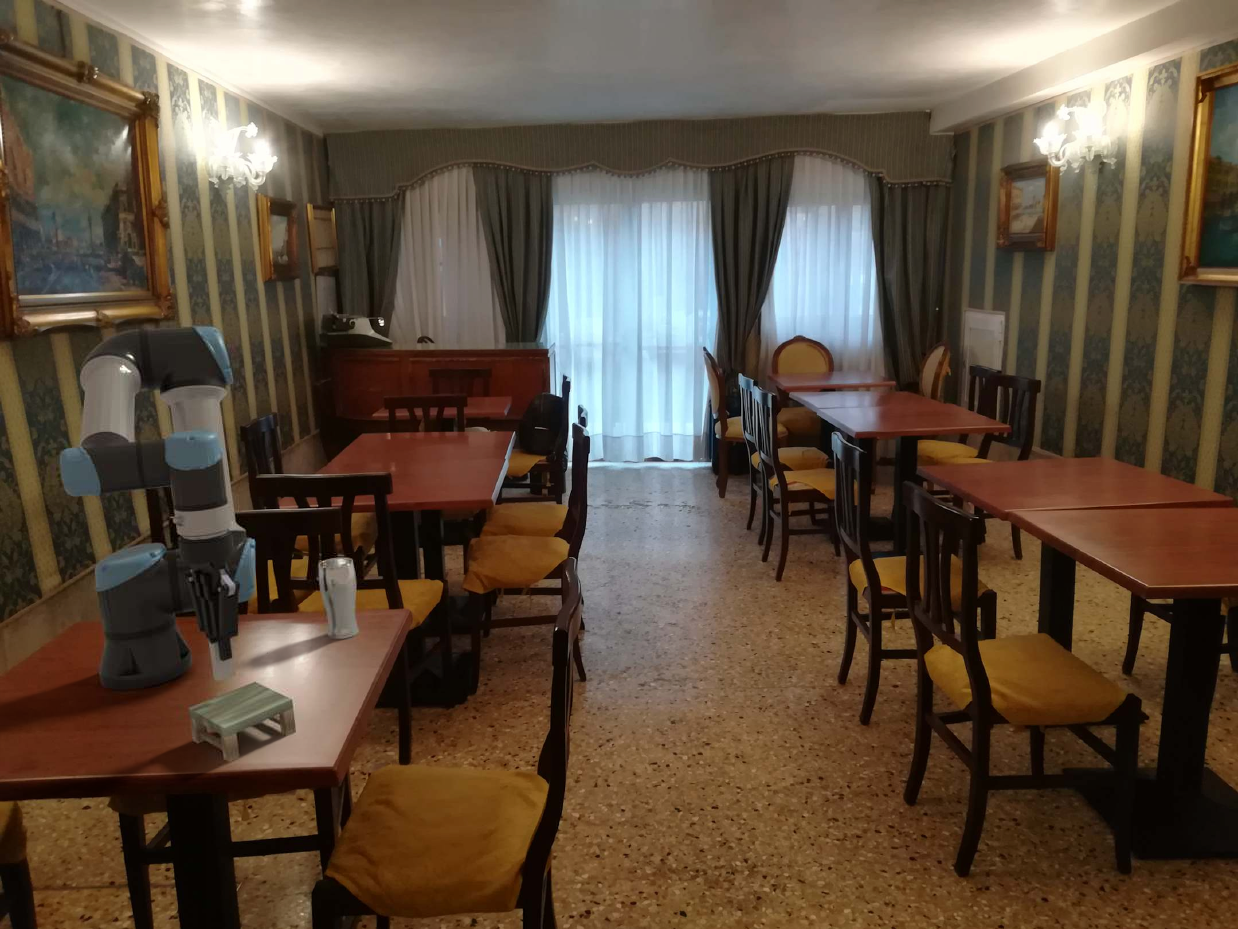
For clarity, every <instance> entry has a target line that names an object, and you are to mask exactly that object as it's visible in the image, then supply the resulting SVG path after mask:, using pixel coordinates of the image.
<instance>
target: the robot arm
mask: <svg viewBox="0 0 1238 929" xmlns="http://www.w3.org/2000/svg"><path fill="white" fill-rule="evenodd" d="M228 356H229V355H228V352H227V348H226V346H225V342H224V339H223V336H222V334H221V332H220V331H219V329H217V328H216V327H213V326H196V325H195V326H194V325H191V326H181V327H180V326H178V327H165V328H164V327H163V328H161V327H160V328H145V329H140V328H139V329H129V330H124V331H122V332H121V331H120V332H118V333H116V334H114V335H112V336H109V337H108V338H106V339H104V340H103V341H102V342H101V343H99V344H97V345H96V346H95V347H94V348H93V349H92V350H91V351H90V353H89V354H88V355H87V356H86V358H85V359H84V361H83V362H82V365H81V368H80V376H79V381H80V385H81V388H82V390H83V391H84V398H83V399H84V400H83V402H84V403H83V408H82V409H83V410H82V419H81V427H80V428H81V429H80V439H79V445H77V446H75V447H70V448H69V447H68V448H65V449H64V450H63V449H62V451H61V453H60V455H59V467H60V476H61V481H62V485H63V488H64V491H66V493H67V494H68V495H70V496H71V497H83V496H84V497H86V496H95V497H97V496H100V495H108V494H115V493H123V492H130V491H138V490H147V489H157V488H165V487H170V489H171V496H172V502H173V503H172V504H173V512H174V517H173V519H172V522H173V523H174V524H175V525H176V533H177V534H178V535H180V536H179V537H178V539H177V542H178V549H171V550H167V546H165V545H164V544H163V543H161V542H154V543H151V542H149V543H142V544H138V545H133V546H130V547H127V548H123V549H120V550H118V551H115V552H113V553H110V554H109V555H106V556H104V558H102V559H100V560H99V561H98V562H97V564H96V565H95V568H94V576H95V578H94V579H95V587H94V589H95V592H97V598H98V603H99V610H100V616H101V622H102V623H101V624H102V629H103V636H104V645H103V650H102V653H101V654H102V655H101V659H100V665H99V668H98V670H99V671H98V674H99V679H100V684H101V685H102V686H103V687H104V688H107V689H110V690H116V691H117V690H119V691H129V690H138V689H144V688H148V687H153V686H157V685H160V684H164V683H167V682H169V681H172V680H174V679H176V678H178V677H180V676H182V675H183V674H185V673H187V671H189V670H190V669H191V667H192V665H193V655H192V652H191V648H190V647H189V645H188V644H187V642H186V640H185V638H184V636H183V634H182V632H181V631H180V629H179V628H178V626H177V619H176V614H181V613H187V612H194V613H195V618H196V623H197V624H198V629H199V631H200V632H201V633H204V636H205V637H206V639H207V640H208V645H209V653H210V659H211V666H212V667H211V668H212V674H213V680H215V681H216V682H221V681H223V680H226V679H229V678H231V677H233V676H236V672H235V663H234V662H235V661H234V657H233V656H234V655H233V648H232V647H233V646H232V640H231V639H232V638H235V637H238V636H239V603H243V602H247V601H249V600H251V599H252V598H253V596H254V595H255V593H256V592H255V591H256V589H255V588H256V541H255V539H253V538H251V537H250V538H249V537H248V538H247V532H246V529H245V528H243V527H242V526H240V525H239V524H238V523H237V522H236V514H235V508H234V507H235V506H234V501H233V494H232V493H233V492H232V486H231V479H230V477H231V476H230V471H229V461H228V457H227V456H228V455H227V448H226V439H225V433H224V426H223V417H222V410H221V404H220V403H221V402H222V400H223V399H224V398H225V397H226V396H227V393H228V390H227V386H228V387H229V386H231V385H233V384H234V377H233V372H232V368H231V365H230V360H229V359H230V358H229V357H228ZM144 391H146V392H147V391H149V392H151V391H159V394H160V395H159V396H160V399H161V401H162V402H164V403H166V404H167V405H168V406H170V412H171V413H170V414H171V420H172V421H171V422H172V428H173V433H172V434H171V433H170V434H168V435H167V436H166V437H165V438H160V439H152V440H139V441H135V403H136V402H135V397H136V395H137V394H138V393H139V392H144Z"/></svg>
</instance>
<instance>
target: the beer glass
mask: <svg viewBox="0 0 1238 929" xmlns="http://www.w3.org/2000/svg"><path fill="white" fill-rule="evenodd" d="M318 582H319V590H320V595H321V600H322V602H323V605H324V608H325V612H326V616H327V638H329V639H331V640H345V639H349V638H352V637H355V636H356V635H358V634H359V632H360V628H359V626H358V622H357V618H356V601H357V576H356V571H355V566H354V559H353V558H349V557H334V558H329V559H328V558H327V559H324V560H323V561H320V562H319V563H318Z"/></svg>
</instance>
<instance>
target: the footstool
mask: <svg viewBox="0 0 1238 929" xmlns="http://www.w3.org/2000/svg"><path fill="white" fill-rule="evenodd" d="M188 714H189V721H190V728H191V737H192V741H193V742H195V743H197V744H200V743H202V742H203V743H204V742H208V743H209V744H211V745H212V746H214V747H216V748H217V749H219V750H221V751H222V754H223V759H224V760H225V761H227V763H231V762H233V761H235V760H237V759H239V758H241V757H240V751H239V743H238V737H237V734H238V733H239V732H242V731H244V730H246V729H249V728H251V727H253V726H255V725H259V724H260V723H262V722H264V721H267V720H269V721H271V722H273V723H275V724H278V725H279V726H280V732H281V734H283V735H285V736H290V735H291V734H294V733H296V732H297V728H296V721H295V720H296V719H295V711H294V704H293V698H291V697H288V696H286V695H283V694H281V693H279V692H278V691H275V690H273V689H271V688H269V687H267V686H264V685H263V684H260V683H258V682H256V681H254V682H251V683H248V684H245V685H243V686H241V687H238V688H235V689H233V690H230V691H228V692H225V693H222V694H221V695H218V696H216V697H215V696H214V697H213V698H210V699H208V700H205V701H203V702H200V703H198V704H195V705H193V706H190V707H188ZM208 728H209V729H210V730H211V731H214V732H215V733H217V734H219V735H220V738H218V737H217V736H215V735H213V734H212V733H209V732H208Z"/></svg>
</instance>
